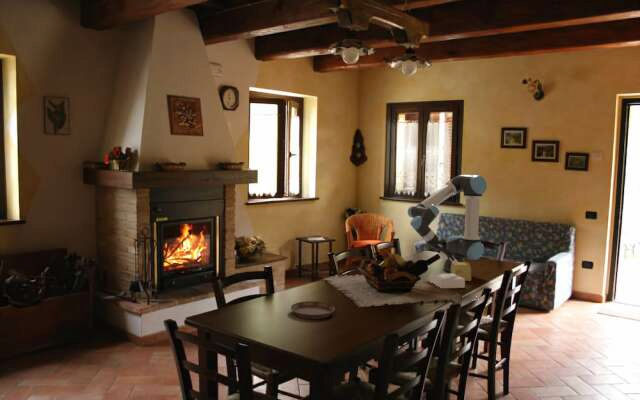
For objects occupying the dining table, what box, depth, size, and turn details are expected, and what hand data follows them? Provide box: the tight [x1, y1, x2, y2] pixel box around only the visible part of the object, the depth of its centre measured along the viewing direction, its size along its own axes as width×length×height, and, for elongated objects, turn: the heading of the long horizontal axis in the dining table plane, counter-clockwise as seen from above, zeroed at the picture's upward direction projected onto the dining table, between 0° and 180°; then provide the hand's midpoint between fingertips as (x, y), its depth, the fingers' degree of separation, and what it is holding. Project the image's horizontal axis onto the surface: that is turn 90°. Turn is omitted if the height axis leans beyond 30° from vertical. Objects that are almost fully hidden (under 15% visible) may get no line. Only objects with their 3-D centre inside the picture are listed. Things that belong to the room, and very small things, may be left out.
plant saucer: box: [290, 300, 336, 320], centre depth 250 cm, size 21×21×3 cm
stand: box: [429, 273, 466, 289], centre depth 316 cm, size 15×15×5 cm
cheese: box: [450, 261, 472, 282], centre depth 333 cm, size 10×11×10 cm
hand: (451, 261), depth 330 cm, fingers open, 13 cm apart
